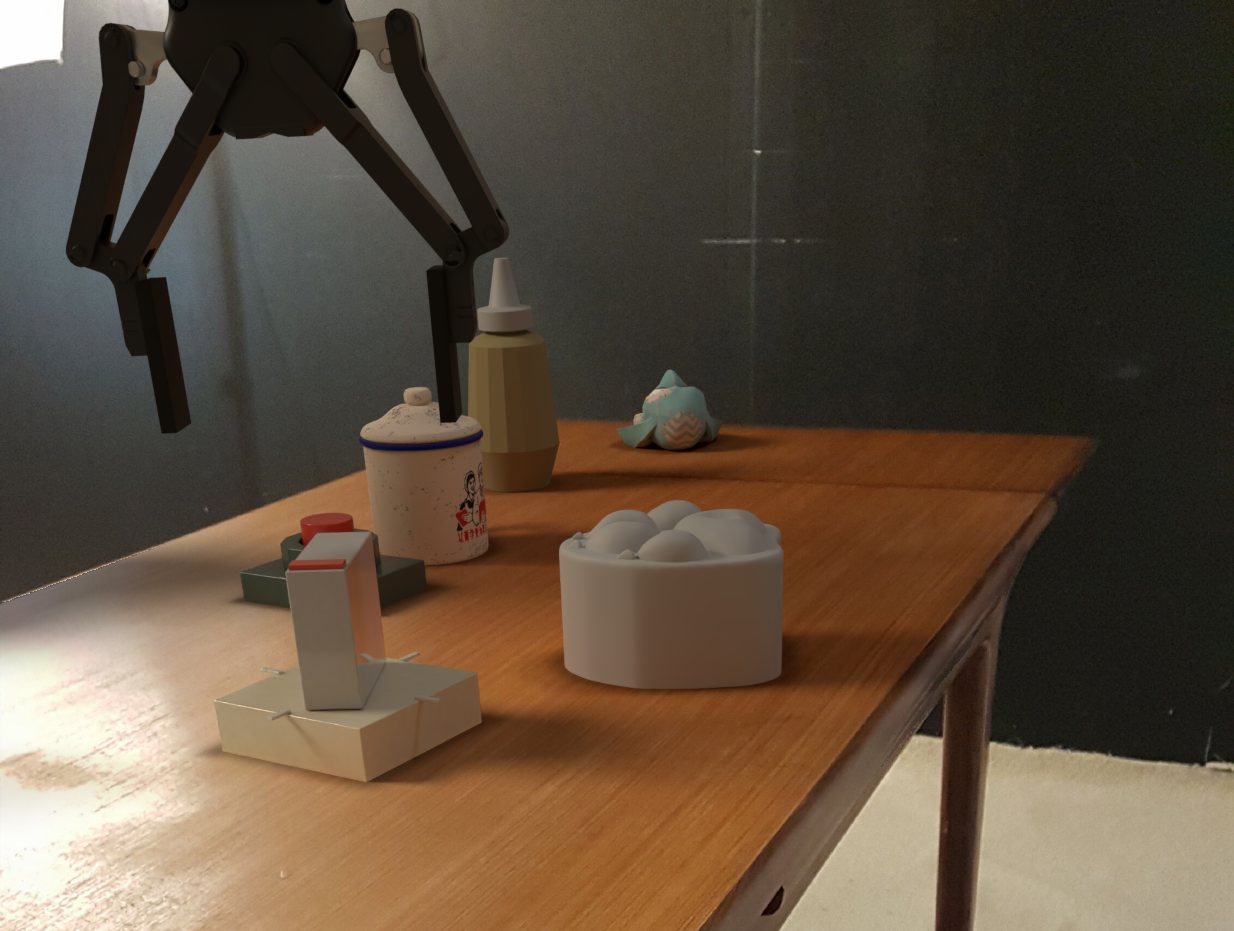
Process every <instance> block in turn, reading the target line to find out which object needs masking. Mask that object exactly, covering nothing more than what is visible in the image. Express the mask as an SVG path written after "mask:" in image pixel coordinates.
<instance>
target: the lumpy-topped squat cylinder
mask: <svg viewBox="0 0 1234 931" xmlns="http://www.w3.org/2000/svg"><path fill="white" fill-rule="evenodd" d="M781 546H782V534H781V531H780V529H779V528H778V527H777V526H776V525H773V524H770V523H769V524H768V523H766V522H765V523H763V522H762V521H761V520H760V518H759V517H758V516H757V515H755V514H754V513H752V512H750V511H748V510H744V509H740V508H717V509H711V510H704V511H702V510H701V509H700V508H699V507H698V506H697V505H696V504H695V503H692V502H691V501H688V500H684V499H683V500H681V499H674V500H668V501H665V502H664V503H661V504H660V505H658V506H656V507H655V508H652V509H651V510H650V511H649V512H647V513H646V512H644V511H641V510H638V509H637V510H636V509H620V510H617V511H614V512H611V513H609V514H607V515H606V516H604V517H603V518H602V519H600V521H599V522H598V523H597V524H596V525H595V526H594V527H593V528H592V529H591V530H590V531H588V532H584V533H583V532H581V531H578V532H576V533H574V535H573V536H572V537H570V538H567V539H565V540H563V541H562V542H561V544H560V545H559V550H558V560H559V579H560V580H559V581H560V600H561V621H562V639H563V640H562V641H563V659H564V660H563V661H564V667H565V669H566V670H568V671H569V673H572V674H573V675H574V676H575V675H576V676H578V677H580V678H583V679H585V680H589V681H592V682H598V683H601V684H607V685H612V686H618V687H624V688H632V689H643V690H644V689H645V690H646V689H647V690H692V689H693V690H694V689H714V688H715V689H717V688H718V689H719V688H735V687H737V688H738V687H746V686H752V685H758V684H763V683H766V682H770V681H772V680H775V679H777V678H778V677H780V676H781V674H782V669H783V668H782V664H783V621H784V620H783V619H784V616H783V614H784V561H785V554H784V550H783V547H781Z"/></svg>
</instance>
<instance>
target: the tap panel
mask: <svg viewBox="0 0 1234 931" xmlns="http://www.w3.org/2000/svg"><path fill="white" fill-rule="evenodd" d="M419 656H421V652H420V651H413V652H410V653H408V654H406V655H403V656H401V657H399V658H392V657H387V656H386V662H385V664H384V666H383V668H382V670H381V672H380V674H379V676H378V678H377V680H376V682H375V684H374V686H373V688H372V690H371V692H370V694H369V696H368V698H367V700H366V702H365V704H364V706H363V708H362V709H328V710H306V709H305V705H304V698H303V692H302V685H301V678H300V671H299V664H297V665H296V666H293V667H290V668H287V669H286V670H283V669H277V668H274V667H273V668H272V667H267V666H262V667H261V668H259V671H260V672H261V673H267V674H272V675H270V676H269V677H266V678H264V679H262V680H259V681H257V682H254V683H252V684H250V685H247V686H245V687H243V688H240V689H238V690H236V691H232V692H230V693H228V694H225V695H223V696H221V697H219V698H216V699H214V700H213V704H214V711H215V716H216V722H217V728H218V732H219V738H220V739H219V740H220V744H221V745H220V746H221V750H222V752H225V753H229V754H233V755H239V756H242V757H248V758H253V759H257V760H262V761H266V762H271V763H275V764H281V765H285V766H289V767H294V768H299V769H304V770H307V771H313V772H317V773H323V774H327V775H331V776H336V777H339V778H340V777H341V778H344V779H350V780H354V781H358V782H359V781H360V782H364V783H368V782H370V781H372V780H373V779H376V778H377V777H380V776H381V775H383V774H386V773H387V772H389V771H391V770H393V769H395V768H397V767H399V766H400V765H402V764H405V763H407V762H409V761H411V760H412V759H414V758H416V757H419V756H420V755H421V754H424V753H426V752H427V751H429V750H431V749H434V748H435V747H437V746H439V745H441V744H443V743H445V742H447V741H450V739H452V738H454V737H457V736H458V735H460V734H462V733H464V732H466V731H468V730H470V729H472V728H474V727H475V726H478V725H479V724H481V723H483V722H482V708H481V697H480V696H481V695H480V685H479V672H476V671H472V670H471V671H470V670H466V669H465V670H464V669H459V668H453V667H447V666H441V665H435V664H429V663H424V662H423V663H422V662H417V661H412V660H413V659H414V658H417V657H419ZM410 660H411V661H410Z"/></svg>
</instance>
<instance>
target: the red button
mask: <svg viewBox="0 0 1234 931" xmlns="http://www.w3.org/2000/svg"><path fill="white" fill-rule="evenodd" d="M299 526H300V533H302V540H303V545H305V546H307V545H308V543H309V542H310V541H311V540H312V538H313V537H314V536H315V535H316V534H317V533H339V532H355V531H354V529H355V523H354V516H352V514H348V513H343V512H325V513H324V512H322V513H316V514H311V515H308V516H304V517H302V518H301V519H300V520H299Z"/></svg>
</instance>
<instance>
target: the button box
mask: <svg viewBox="0 0 1234 931" xmlns="http://www.w3.org/2000/svg"><path fill="white" fill-rule="evenodd" d="M354 531H355V532H371V533H372V540H373V548H374V557H375V566H376V574H377V583H378V592H379V601H380V609H381V608H383V607H385V606H388V605H391V604H394V603H396V602H398V601H401V600H403V599H405V598H408V597H411V596H413V595H416V594H418V593H420V592H423V591H425V590H427V589H428V585H427V574H426V566H425V563H424V560H419V559H411V558H404V557H396V556H388V555H381V554H380V551H379V542H378V535H376V534H375V533H373V531H371V530H369V529H361V528H354ZM279 546H280V547H279V548H280V554H281V557H280V558H277V559H274V560H270V561H268V562H265V563H261V564H260V565H256V566H254V567H251V568H248V569H244V570H242V571H240V572H239V575H240V581H241V586H242V587H241V588H242V593H243V594H242V595H243V599H244V602H250V603H255V604H260V605H268V606H275V607H279V608H280V607H281V608H287V609H290V602H289V595H288V588H287V581H286V575H285V572H286V571H287V569H288V565H289V564H290V562H291V561H292V560H295V559H296V558H297V557H298V556H299V554H300V553H301V552H302V551H303V550H304V548H305V547H306V546H305V545H303V540H302V533H301V532H298V533H295V534H292V535H289V536H285V538H284V539H283V540H282V541H281V542H280V545H279Z"/></svg>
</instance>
